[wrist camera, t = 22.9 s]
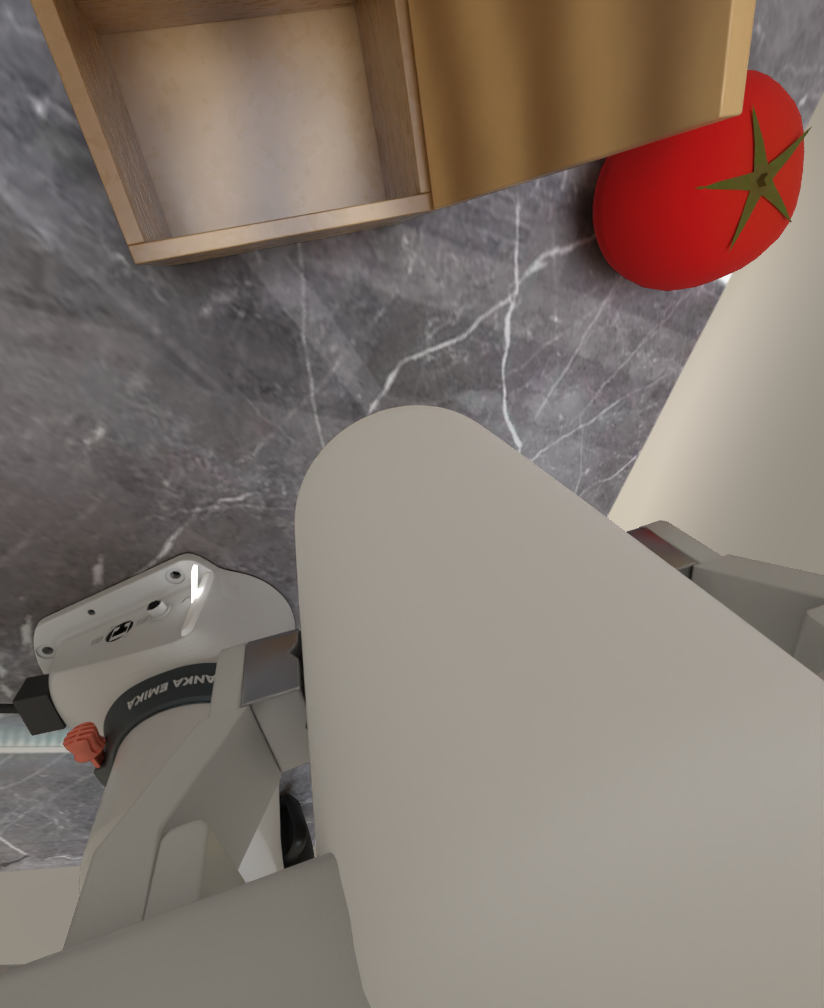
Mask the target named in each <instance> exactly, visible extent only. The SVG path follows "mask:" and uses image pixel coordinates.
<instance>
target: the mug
mask: <svg viewBox="0 0 824 1008" xmlns="http://www.w3.org/2000/svg"><path fill="white" fill-rule="evenodd" d="M279 803H280V838H281V848H282V858H283V865H284V869H285V868H288V867H291V866H294V865H296V864H299V863H302V862H304V861H307V860H310V859H313V858H314V852H313V846H312V841H311V837H310V833H309V830H308V827H307V824H306V821H305V818H304V815H303V813H302V810H301V806H300V803H299V802H298V801H297V800H296V799H295V798H293V797H292V796H291V795H288V794H287V795H283V796H280V797H279Z"/></svg>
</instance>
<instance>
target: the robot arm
mask: <svg viewBox="0 0 824 1008" xmlns="http://www.w3.org/2000/svg"><path fill="white" fill-rule="evenodd" d="M627 533H628V534H630V535H631V536H632V537H634V538H635V539H636V540H638V541H639V542H640V543H642V544H643V545H644V546H646V547H647V548H648V549H650V550H651V551H652V552H654V553H655V554H656V555H658V556H659V557H660V558H662V559H663V560H664V561H666V562H667V563H668V564H670V565H671V566H672V567H674V568H675V569H676V570H678V571H679V572H680V573H682V574H683V575H684V576H686V577H687V578H688V579H690V580H691V581H692V582H694V583H695V584H696V585H698V586H699V587H700V588H702V589H703V590H704V591H706V592H707V593H708V594H710V595H711V596H712V597H714V598H715V599H716V600H718V601H719V602H720V603H722V604H723V605H724V606H726V607H727V608H728V609H730V610H731V611H732V612H734V613H735V614H736V615H738V616H739V617H740V618H742V619H743V620H744V621H746V622H747V623H748V624H750V625H751V626H752V627H753V628H755V629H756V630H757V631H759V632H760V633H761V634H763V635H764V636H765V637H767V638H768V639H769V640H771V641H772V642H773V643H775V644H776V645H777V646H779V647H780V648H781V649H783V650H784V651H785V652H786V653H788V654H789V655H790V656H792V657H793V658H794V659H796V660H797V661H798V662H800V663H801V664H802V665H804V666H805V667H806V668H808V669H809V670H810V671H812V672H813V673H814V674H815V675H817V676H818V677H819V678H821V679H822V680H823V681H824V575H820V574H816V573H811V572H807V571H802V570H797V569H793V568H788V567H784V566H779V565H774V564H770V563H765V562H761V561H756V560H751V559H747V558H742V557H738V556H733V555H726V556H721V555H719V554H718V553H716V552H714V551H713V550H711V549H710V548H708V547H707V546H705V545H703V544H702V543H700V542H699V541H697V540H696V539H694V538H692V537H691V536H689V535H688V534H686V533H684V532H683V531H681V530H680V529H678V528H677V527H675V526H673V525H672V524H670V523H669V522H665V521H657V522H654V523H651V524H648V525H645V526H641V527H639V528H637V529H634V530H630V531H627ZM173 571H178V572H179V573H180V574H179V575H175V574H173V573H172V572H173ZM47 647H50V648H52V649H49V648H47ZM34 651H35V655H36V658H37V661H38V664H39V666H40V668H41V670H42V672H43V674H44V675H40V676H35V677H29V678H27V679H26V680H25V682H24V684H23V685H22V687H21V688H20V690H19V692H18V693H17V695H16V697H15V698H14V700H13V704H0V713H17V714H20V716H21V718H22V719H23V721H24V723H25V724H26V726H27V728H28V729H29V731H30V733H31V735H37V734H42V733H46V732H51V731H55V730H60V729H64V728H65V727H66V725H67V726H68V727H69V728H70V730H71V731H70V732H69V733H68V734H67V737H65V738H64V741H65V742H63V745H64V746H65V748H66V749H67V750H68V751H70V752H71V753H73V754H74V758H75V760H76V761H77V762H79V763H83V762H87V761H91V762H92V763H93V764H94V766H95V767H96V768H95V771H94V774H95V775H96V777H97V778H98V780H99V781H100V782H101V783H102V784H103V785H104V786H105V787H106V788H105V791H104V794H103V797H102V800H101V803H100V806H99V809H98V812H97V815H96V818H95V821H94V824H93V827H92V830H91V833H90V836H89V839H88V842H87V845H86V848H85V851H84V854H83V857H82V861H81V868H80V878H79V891H80V897H79V900H78V903H77V906H76V909H75V913H74V916H73V919H72V922H71V925H70V928H69V931H68V935H67V938H66V941H65V944H64V947H63V950H62V951H60V952H57V953H54V954H51V955H49V956H46V957H43V958H41V959H38V960H35V961H32V962H30V963H27V964H22V965H0V1008H371V1007H370V1005H369V1002H368V1000H367V998H366V996H365V994H364V992H363V987H362V983H361V978H360V974H359V969H358V964H357V960H356V955H355V950H354V943H353V936H352V929H351V921H350V916H349V911H348V907H347V903H346V899H345V895H344V891H343V887H342V883H341V878H340V873H339V868H338V864H337V860H336V858H335V856H334V854H332V853H330V852H329V853H326V854H324V855H321V856H318V857H315V858H313V859H310V860H307V861H304V862H302V863H299V864H296V865H294V866H291V867H288V868H285V869H284V865H283V858H282V848H281V838H280V803H279V781H280V779H281V777H282V774H281V773H282V772H285V771H287V770H290V769H293V768H295V767H298V766H301V765H304V764H306V763H309V762H310V754H309V740H308V726H307V712H306V697H305V683H304V668H303V654H302V639H301V631H300V630H299V629H295V621H294V616H293V613H292V610H291V608H290V606H289V604H288V603H287V601H286V600H285V599H284V597H283V596H282V595H281V594H280V593H279V592H278V591H277V590H276V589H274V588H273V587H272V586H270V585H269V584H267V583H265V582H264V581H262V580H260V579H257V578H255V577H252V576H249V575H246V574H242V573H238V572H233V571H228V570H224V569H221V568H218V567H217V566H215V565H214V564H212V563H210V562H209V561H207V560H205V559H203V558H202V557H200V556H197V555H194V554H189V553H188V554H182V555H179V556H177V557H175V558H173V559H171V560H168V561H166V562H164V563H162V564H160V565H158V566H155V567H153V568H151V569H149V570H147V571H144V572H142V573H140V574H138V575H136V576H134V577H131V578H129V579H127V580H125V581H123V582H121V583H118V584H116V585H114V586H112V587H110V588H108V589H105V590H103V591H101V592H99V593H97V594H95V595H92V596H90V597H88V598H86V599H84V600H82V601H79V602H77V603H75V604H73V605H71V606H68V607H66V608H64V609H62V610H60V611H58V612H55V613H53V614H51V615H49V616H47V617H45V618H43V619H42V620H40V621H39V623H38V625H37V627H36V629H35V633H34Z"/></svg>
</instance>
